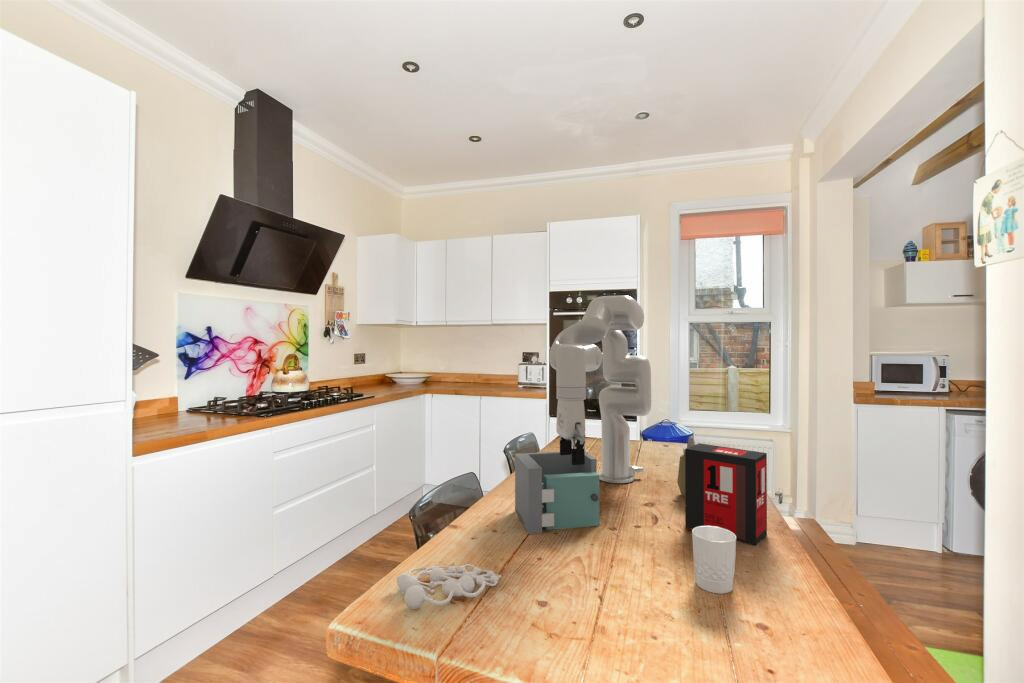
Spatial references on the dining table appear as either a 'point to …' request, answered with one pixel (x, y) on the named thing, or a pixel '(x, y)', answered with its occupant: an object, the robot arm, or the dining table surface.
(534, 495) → the cabinet
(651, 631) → the dining table surface
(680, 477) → the squeeze bottle
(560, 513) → the cabinet door
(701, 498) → the cleaning product box
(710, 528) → the white cup
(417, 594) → the tangled rod sculpture
